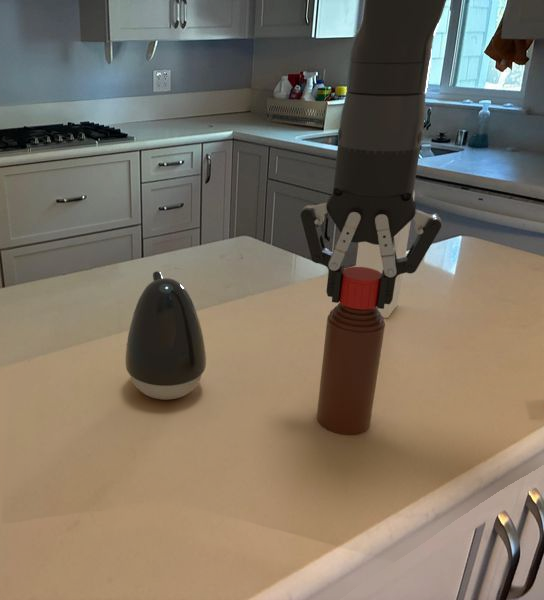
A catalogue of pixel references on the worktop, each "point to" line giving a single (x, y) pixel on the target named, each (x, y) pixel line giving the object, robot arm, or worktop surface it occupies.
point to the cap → (360, 288)
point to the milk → (372, 259)
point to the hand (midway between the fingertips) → (357, 302)
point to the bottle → (350, 369)
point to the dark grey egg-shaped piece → (165, 341)
